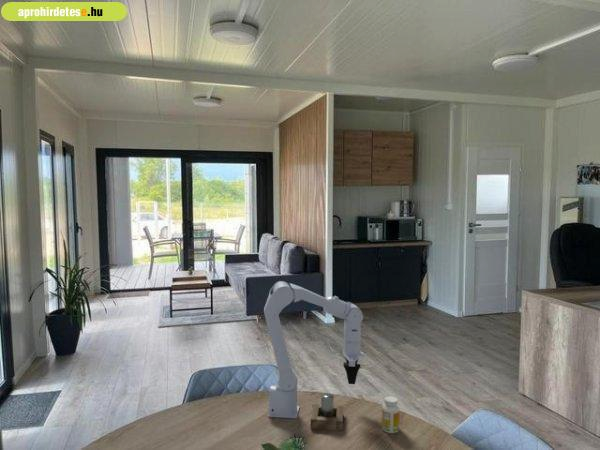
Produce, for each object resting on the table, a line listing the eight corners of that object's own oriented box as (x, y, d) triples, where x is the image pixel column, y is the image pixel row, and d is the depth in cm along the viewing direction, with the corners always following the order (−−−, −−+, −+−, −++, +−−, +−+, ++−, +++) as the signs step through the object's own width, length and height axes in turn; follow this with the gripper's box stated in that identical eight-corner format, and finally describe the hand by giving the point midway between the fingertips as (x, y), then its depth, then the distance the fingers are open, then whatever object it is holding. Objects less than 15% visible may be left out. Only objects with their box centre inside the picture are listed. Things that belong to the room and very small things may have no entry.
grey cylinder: (320, 422, 137) (320, 398, 137) (321, 416, 141) (321, 392, 141) (333, 423, 137) (333, 399, 136) (333, 417, 141) (333, 393, 140)
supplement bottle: (397, 425, 137) (398, 395, 136) (400, 434, 132) (400, 403, 131) (380, 424, 138) (381, 394, 137) (382, 433, 132) (383, 402, 132)
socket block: (310, 428, 134) (310, 419, 134) (313, 412, 144) (313, 404, 144) (342, 430, 133) (342, 421, 133) (342, 414, 143) (343, 405, 143)
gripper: (364, 348, 138) (364, 388, 139) (363, 333, 153) (362, 371, 154) (342, 347, 139) (342, 387, 140) (343, 333, 153) (343, 369, 154)
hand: (351, 378), depth 147 cm, fingers open, 7 cm apart
